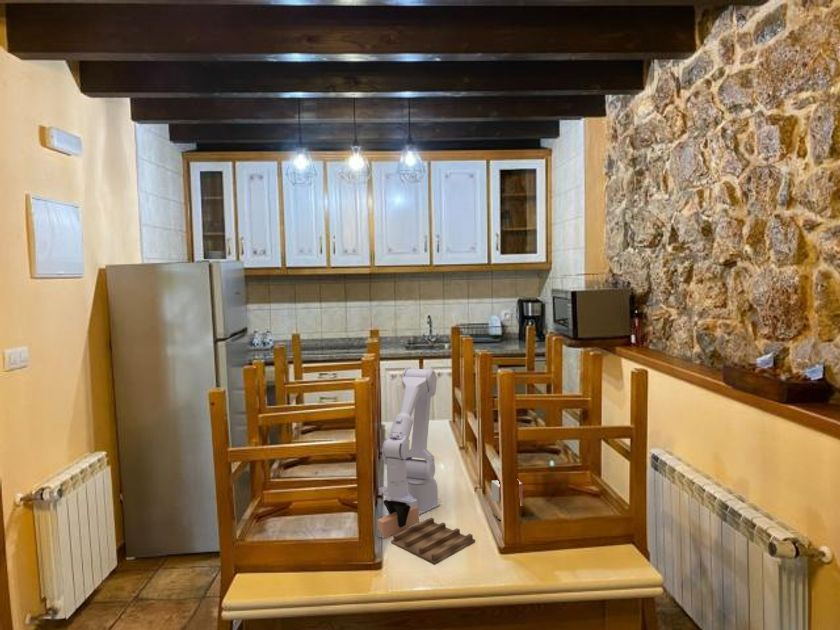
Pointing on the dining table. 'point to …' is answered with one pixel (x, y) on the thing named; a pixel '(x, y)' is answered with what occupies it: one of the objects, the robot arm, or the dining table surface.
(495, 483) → the small box
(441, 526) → the rack
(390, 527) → the clay block
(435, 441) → the dining table surface
